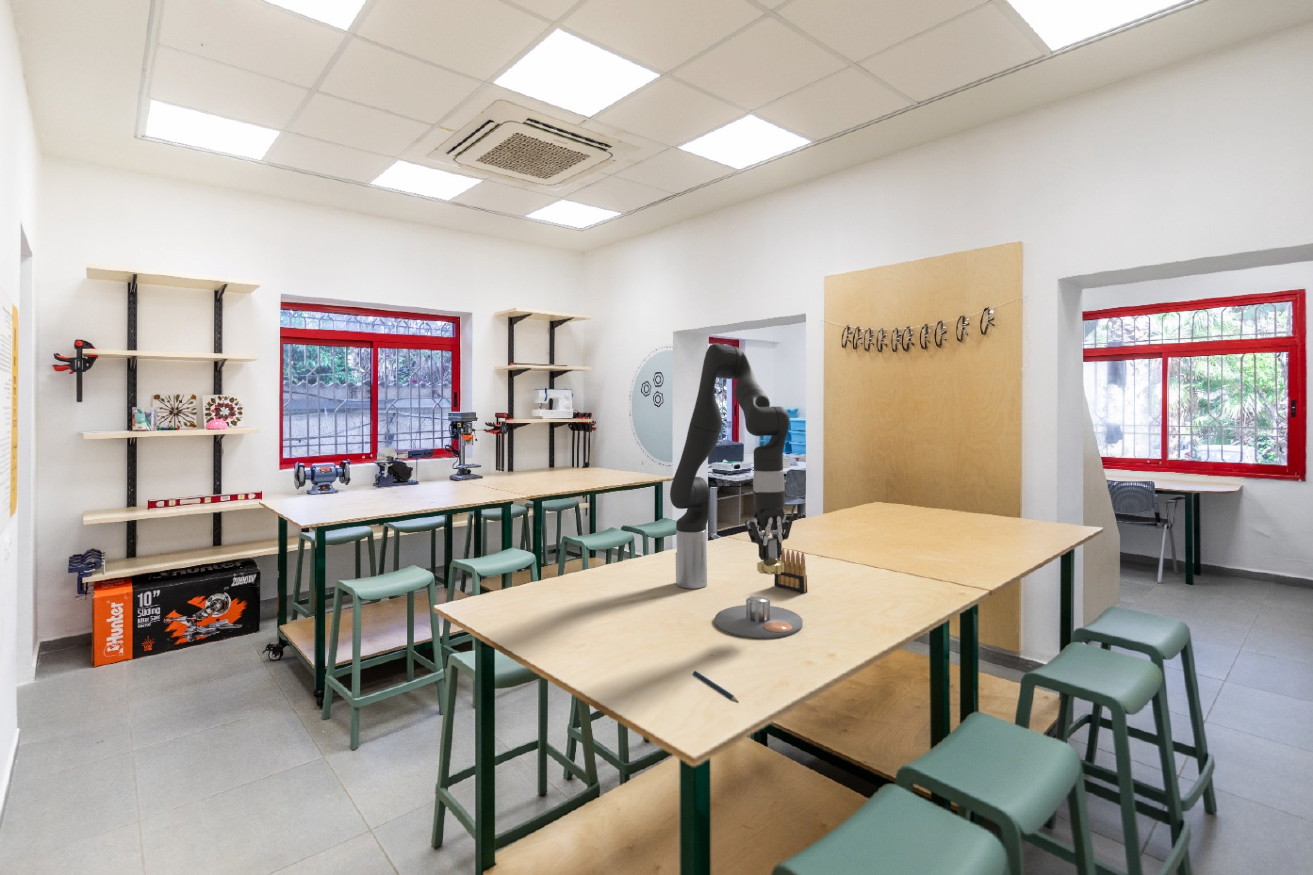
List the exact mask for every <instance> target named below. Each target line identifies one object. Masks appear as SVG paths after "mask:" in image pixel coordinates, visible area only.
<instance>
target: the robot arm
mask: <svg viewBox="0 0 1313 875" xmlns="http://www.w3.org/2000/svg"><path fill="white" fill-rule="evenodd" d="M703 359H704V360H703V364H702V371H701V375H700V381H699V387H698V392H697V396H696V400H695V405H694V408H693V411H692V415H691V419H690V421H689V422H690V423H689V424H688V425H689V426H688V429H687V434H686V438H685V443H684V445H683V446H684V447H683V450H682V454H681V456H680V459H679V460H680V461H679V463H678V465H677V469H676V472H675V473H674V476H673V478H672V481H671V482H672V483H671V486H670V490H669V497H670V501H671V504H672V506H673V507H674V508H676V509H678V510H685V509H686V512H685V513H684V514H683V515H682V516H681V517H680V518H678V519H677V520H676V524H675V525H676V526H675V527H676V528H675V529H676V532H675V533H676V534H675V535H676V552H675V583H676V584H677V586H678V587H679V588H682V589H689V590H690V589H693V590H694V589H701V588H704V587H706V586H707V585H708V565H707V564H708V563H707V562H708V555H707V554H708V553H707V552H708V551H707V546H708V545H707V524H708V522H709V515H710V508H709V507H710V488H709V485H708V483H707V481H706V480H705V479H704V478H703V477H701V476H697V474H698V471H699V469H700V468H701V465H703V463H704V462H705V461H706V460H707V458H708V457H709V456H710V454H711V453H712V452H713V451H714V449H715V448H716V446H717V444H718V442H719V437H720V434H721V430H722V427H723V418H722V414H721V412H720V409H719V406H718V403H717V399H716V395H715V387H716V381H717V378H721V379H727V380H735V381H736V384H735V387H734V398H735V400H736V402H737V404H738V405H739V407H740V408H741V410H742V411H743V416H744V421H745V422H744V423H745V424H744V425H745V428H746V431H747V432H748V433H749V434H750V435H752V436H755V437H765V436H766V437H768V436H770V439H769V441H768V443H765V444H763V445H760V446H757V447H755V448H754V450H753V477H752V479H753V480H752V491H753V492H752V494H753V495H752V496H753V508H754V510H755V511H754V515H753V518H751V519H750V520H748V519H747V520H745V522H744V524H745V528H746V530H747V533H748V536H749V539H750V541H751V543H754V544H757V545H758V557H759V560H760V561H763V560H764V561H767V560H768V546H767V541H768V538H769V537H770V534H771V538H777V558H781V554H782V549H783V548H782V547H783V546H782V543H783V541H785V540H788V539H789V537H790V533H791V529H792V527H793V523H794V522H793V521H794V516H793V515H787V514H785V511H784V508H785V507H786V500H785V499H786V497H785V495H786V494H785V490H786V489H785V475H784V458H783V457H784V448H785V444H786V440H787V435H788V433H789V429H790V428H789V427H790V415H789V413H788V410H786V408H784V407H783V406H771V403H770V399H769V397H768V396H767V394H766V392H765V391H764V390H763V388H762V387H761V386H760V384H759V382H758V381H757V380H756V377H755V375H754V372H753V369H752V366H751V364H750V360H749V359H748V356H747V354H746V353H745V351H744V350H743V349H742V348H740V347H738V346H733V345H725V344H720V343H712V344H710V345H709V346H708V348H707V350H706V352H705V356H704V358H703Z"/></svg>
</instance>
